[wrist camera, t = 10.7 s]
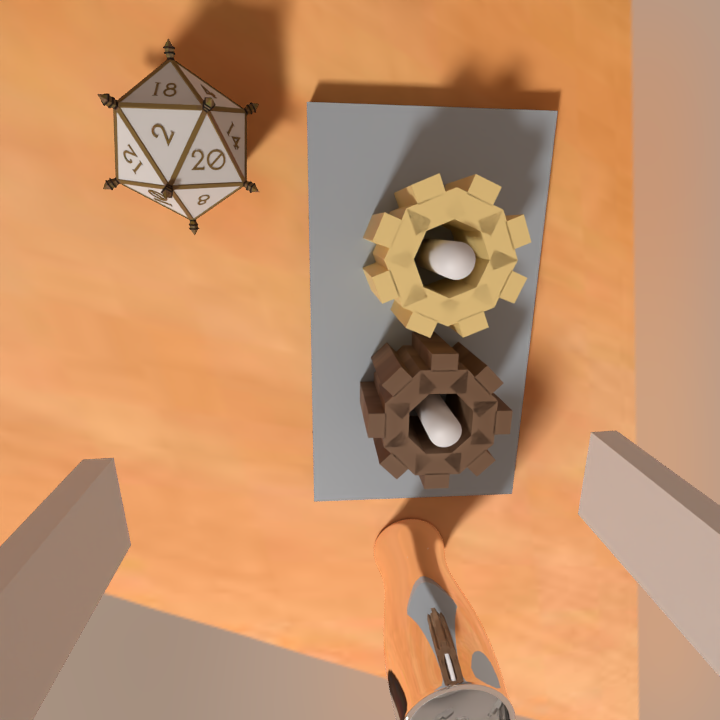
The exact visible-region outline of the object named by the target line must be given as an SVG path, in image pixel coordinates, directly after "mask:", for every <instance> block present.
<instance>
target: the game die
mask: <svg viewBox="0 0 720 720" xmlns="http://www.w3.org/2000/svg"><path fill="white" fill-rule="evenodd" d="M163 48H165V52H164V54H166V56H167V60H166V61H165V62H164V63H163V64H161V65H160V66H159V67H158V68H156V69H155V70H154V71H153V72H152V73H150V74H149V75H148V76H147V77H145V78H144V79H143V80H142V81H141V82H139V83H138V84H137V85H136V86H134V87H133V88H132V89H131V90H130V91H128V92H127V93H126V94H125V95H123V96H122V97H121V98H120V99H119V100H115V98H114V97H111V96H109V94H98V96H99V97H100V99H101V102H102V103H103V105H104V106H105V105H107V106H108V108H113V112H114V141H115V171H116V178H114V179H111V178H110V180H108V181H107V180H105V181H106V183H105V185H104V187H103V189H111V190H113V188H114V187H115V188H116V187H117V185H118V184H122V185H124V186H126V187H128V188H129V189H131V190H133V191H135V192H137V193H139V194H141V195H143V196H145V197H147V198H149V199H151V200H153V201H154V202H156V203H158V204H160V205H162V206H164V207H166V208H168V209H170V210H172V211H174V212H176V213H177V214H179V215H181V216H183V217H185V218H187V219H189V220H190V224H189V226H190V228H189V229H190V230H191V231H192V232H193V234H194V235H195V234H196V232H197V230H198V229H199V228H198V224H197V222H196V219H197V218H199V217H200V216H202V215H203V214H205V213H206V212H207V211H209V210H210V209H212V208H213V207H215V206H216V205H217V204H219V203H220V202H222V201H223V200H225V199H226V198H228V197H229V196H230V195H232V194H233V193H235V192H236V191H238V190H239V189H241V188H242V187H243V186H244V187H245V188H246V190H249V191H250V193H251V192H259V191H258V189H257V187H256V185H255V183H254V184H253V183H252V182H251V181H250V182H248V181H247V114H252V113H253V112H255V113H256V109H257V107H258V105H259V104H254V103H250V104H249V105H246V107H245V108H244V109H243V108H242V107H241V106H239V105H238V104H236V103H235V102H233V101H232V100H231V99H229V98H228V97H226V96H225V95H223V94H222V93H221V92H219V91H218V90H216V89H215V88H213V87H212V86H211V85H209V84H208V83H206V82H205V81H204V80H202V79H201V78H199V77H198V76H196V75H195V74H194V73H192V72H191V71H189V70H188V69H186V68H185V67H184V66H182V65H181V64H179V63H178V62H176V61H175V60H174V55H175V53H174V49H175V47H173V46H172V44H171V42H170V41H169V39H168V40H167V42H166V44H165V46H164V47H163Z"/></svg>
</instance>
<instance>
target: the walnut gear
mask: <svg viewBox="0 0 720 720" xmlns="http://www.w3.org/2000/svg"><path fill="white" fill-rule="evenodd" d="M371 360H372V362H373V365H374V367H375V370H376V371H375V372H374V381H367V382H360V405H361V410H362V414H363V418H364V423H365V427H366V431H367V436H368V438H373V440H374V444H375V448H376V452H377V456H378V460H379V464H380V465H381V466H382V467H383V468H384V469H386V470H387V471H388V472H389V473H390V474H391V475H392V476H393V477H394V478H396V479H398V478H399V477H400V476H401V475H402V474H403V473H405V472H406V471H407V470H408V469H409V470H410V471H411V472H412V473H413V474H414V475H419V477H420V479H421V482H422V484H423V487H424V489H436V488H449V477H450V474H460V473H461V472H462V471H463V470H465V469H466V468H468V469H469V470H470V471H472V472H473V473H474V474H475V475H476V476H478V475H480V474H481V473H482V472H483V471H484V470H485V469H486V468H488V467H489V466H490V465H491V464H492V463H493V462H494V461H496V460H495V459H494V458H493V456H492V455H491V454H490V452H489V451H488V450H487V449H488V448H490V447H491V446H492V445H493V444H494V436H495V435H498V434H510V430H511V421H512V412H513V410H512V409H510V408H509V407H508V406H507V405H506V404H505V403H504V402H503V401H502V400H501V399H500V398H499V397H498V396H497V395H496V394H495V393H494V392H495V391H496V390H497V389H498V388H499V387H500V386H501V385H502V384H503V382H502V381H501V380H500V378H499V377H498V376H497V375H496V374H495V373H494V372H493V371H492V370H491V369H490V368H489V367H488V366H487V365H486V364H485V363H484V362H482V361H481V360H480V359H479V358H478V357H476V356H475V355H474V354H473V353H472V352H470V351H469V350H468V349H467V348H466V347H464V346H463V345H462V344H461V343H459V342H457V343H456V344H455V345H454V346H453V347H451V346H450V345H448V344H447V343H446V342H445V341H444V340H443V339H442V338H441V337H440V336H439V335H438V334H436V333H435V332H433V333H432V335H431V338H429V337H427V336H424V335H422V334H420V333H417V332H412V345H403V346H402V347H401V348H399V349H398V350H397V351H395V350H394V349H393V348H392V347H391V346H390V345H389V344H388V343H387V342H386V343H385V344H384V345H383V346H382V347H381V348H380V349H379V350H378V351H377V352H376V353H375V354H374V355H373V356H372V357H371ZM429 394H446V401H445V403H446V405H447V406H448V408H449V409H450V410H451V412H452V413H453V415H454V416H455V417H456V419H457V420H458V422H459V423H460V425H461V428H462V433H461V436H460V438H459V440H458V441H457V442H456V443H455V444H453V445H451V446H449V447H439V446H436V445H435V444H433V443H432V441H431V440H430V438H429V436H428V434H427V432H426V430H425V428H424V426H423V425H422V423H421V421H420V419H419V417H418V416H409V412H410V411H412V410H413V409H414V408H415V407H416V406H417V405H418V404H419V403H420V402H421V401H422V400H423V399H425V398H426V397H427V396H428V395H429Z"/></svg>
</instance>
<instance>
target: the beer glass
mask: <svg viewBox="0 0 720 720" xmlns="http://www.w3.org/2000/svg"><path fill="white" fill-rule="evenodd" d="M374 559H375V562H376V565H377V567H378V570H379V572H380V574H381V576H382V579H383V583H384V589H385V603H384V628H383V637H384V657H385V666H386V674H387V679H388V685H389V690H390V695H391V700H392V704H393V708H394V712H395V717H396V720H516V717H515V712H514V709H513V706H512V704H511V702H510V699H509V696H508V692H507V689H506V686H505V683H504V679H503V676H502V673H501V670H500V667H499V664H498V661H497V658H496V656H495V653H494V650H493V648H492V645H491V643H490V640H489V638H488V636H487V634H486V631H485V629H484V627H483V625H482V623H481V621H480V619H479V618H478V616H477V614H476V612H475V611H474V609H473V607H472V605H471V604H470V602H469V601H468V599H467V598H466V596H465V595H464V593H463V592H462V590H461V589H460V587H459V586H458V584H457V583H456V581H455V579H454V578H453V576H452V575H451V573H450V571H449V569H448V566H447V563H446V558H445V550H444V544H443V540H442V537H441V535H440V533H439V532H438V530H437V529H436V528H435V527H434V526H433V525H431V524H430V523H428V522H426V521H423V520H419V519H404V520H400V521H397V522H395V523H393V524H391V525H389V526H388V527H386V528H385V529H384V530H383V531H382V532H381V533H380V535H379V536H378V538H377V540H376V542H375V545H374Z"/></svg>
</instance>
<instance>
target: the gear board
mask: <svg viewBox="0 0 720 720" xmlns="http://www.w3.org/2000/svg"><path fill="white" fill-rule="evenodd" d="M557 112H558V111H547V110H518V109H490V108H462V107H434V106H406V105H378V104H350V103H322V102H307V132H308V187H309V242H310V296H311V351H312V406H313V460H314V501H338V500H364V499H390V498H416V497H442V496H468V495H494V494H512V488H513V480H514V472H515V463H516V455H517V447H518V438H519V430H520V422H521V413H522V405H523V396H524V388H525V380H526V371H527V363H528V355H529V346H530V338H531V329H532V321H533V313H534V304H535V296H536V288H537V279H538V271H539V263H540V254H541V246H542V237H543V229H544V221H545V212H546V204H547V196H548V187H549V179H550V171H551V162H552V154H553V145H554V137H555V129H556V120H557ZM439 173H440V176H441V179H442V182H443V185H444V187H445V185H446V184H448V183H451V182H454V181H457V180H460V179H463V178H466V177H469V176H471V175H474V174H477V175H479V176H481V177H483V178H485V179H487V180H489V181H491V182H493V183H495V184H497V185H499V186H501V190H500V192H499V194H498V196H497V198H496V200H495V202H494V204H493V205H495V206H497V207H499V208H501V209H503V210H504V213H505V215H522V214H524V217H525V220H526V224H527V228H528V231H529V235H530V239H531V243H528V244H526V245H524V246H521V247H519V248H516V249H515V252H516V255H517V259H518V261H517V263H516V265H515V267H514V269H513V271H514V272H516V273H518V274H520V275H522V276H525V277H527V280H526V282H525V284H524V286H523V288H522V289H521V291H520V293H519V295H518V297H517V299H516V301H515V303H512V302H509V301H507V300H504V299H501V298H499V299H498V301H497V303H496V305H495V307H494V308H492V309H489V310H487V311H484V314H485V317H486V320H487V323H488V326H489V327H488V328H486V329H483V330H481V331H478V332H476V333H474V334H471V335H469V336H466V337H464V338H463V337H462V336H461V335H459V334H458V333H457V332H455V331H454V330H453V329H451V328H450V327H449V326H445V325H443V324H441V323H437V325H436V327H435V329H434V331H433V332H435V333H436V334H438V335H439V336H440V337H441V338H442V339H443V340H444V341H445V342H446V343H447V344H448V345H450V346H451V347H453V346H454V345H455V344H456V343H457V342H459V343H461V344H462V345H463V346H464V347H466V348H467V349H468V350H469V351H470V352H472V353H473V354H474V355H475V356H476V357H478V358H479V359H480V360H481V361H482V362H484V363H485V364H486V365H487V366H488V367H489V368H490V369H491V370H492V371H493V372H494V373H495V374H496V375H497V376H498V377H499V378H500V380H501V381H502V382H503V384H502V385H501V386H500V387H499V388H498V389H497V390H496V391H495V392H494V393H495V394H496V395H497V396H498V397H499V398H500V399H501V400H502V401H503V402H504V403H505V404H506V405H507V406H508V407H509V408H510V409H512V410H513V412H512V421H511V430H510V434H498V435H495V436H494V444H493V445H492V446H491V447H490V448H488V449H487V450H488V451H489V452H490V454H491V455H492V456H493V458H494V459H495V460H496V461H494V462H493V463H492V464H491V465H490V466H489V467H488V468H486V469H485V470H484V471H483V472H482V473H481V474H480V475H478V476H476V475H475V474H474V473H473V472H472V471H470V470H469V469H468V468H466V469H465V470H463V471H462V472H461V473H460V474H450V477H449V488H436V489H424V487H423V484H422V482H421V479H420V477H419V475H414V474H413V473H412V472H411V471H410V470H409V469H408V470H407V471H406V472H405V473H403V474H402V475H401V476H400V477H399V478H398V479H396V478H394V477H393V476H392V475H391V474H390V473H389V472H388V471H387V470H386V469H384V468H383V467H382V466H381V465H380V464H379V460H378V456H377V452H376V448H375V444H374V440H373V438H368V436H367V431H366V427H365V423H364V418H363V414H362V410H361V405H360V382H367V381H374V372H375V371H376V370H375V367H374V365H373V362H372V360H371V357H372V356H373V355H374V354H375V353H376V352H377V351H378V350H379V349H380V348H381V347H382V346H383V345H384V344H385V343H386V342H387V343H388V344H389V345H390V346H391V347H392V348H393V349H394V350H395V351H397V350H398V349H399V348H401V347H402V346H403V345H412V332H415V331H412V330H410V329H407V328H405V326H404V325H403V324H402V323H401V322H400V321H399V319H398V318H397V317H396V316H395V315H394V314H393V312H392V311H391V310H390V309H391V307H392V304H393V302H394V299H393V300H390V301H388V302H386V303H383V304H382V303H381V302H380V300H379V299H378V298H377V297H376V295H375V294H374V293H373V292H372V291H371V289H370V286H369V284H368V281H367V279H366V276H365V274H364V271H363V269H362V268H363V267H366V266H368V265H371V264H373V263H375V262H376V261H375V259H374V256H373V251H374V248H375V246H376V244H375V243H373V242H370V241H368V240H366V239H364V238H363V236H364V234H365V231H366V229H367V226H368V224H369V222H370V219H371V217H372V215H374V214H379V213H383V212H385V213H387V214H389V213H390V212H391V211H393V210H395V209H398V208H399V206H398V204H397V201H396V198H395V195H394V193H395V192H397V191H399V190H401V189H404V188H406V187H408V186H410V185H413V184H415V183H417V182H420V181H422V180H425V179H427V178H429V177H432V176H434V175H436V174H439ZM475 260H476V258H475V253H474V251H473V249H472V248H471V247H470V246H469V245H468V244H466V243H463V242H457V241H454V238H453V235H452V232H451V230H449V229H447V228H444V227H442V226H440V225H439V226H437V227H434V228H432V229H430V230H427V231H426V233H425V235H424V238H423V240H422V242H421V244H420V247H419V249H418V251H417V253H416V256H415V258H414V262H415V264H416V267H417V270H418V273H419V276H420V279H421V281H422V284H424V285H428V284H431V283H433V282H436V281H438V280H441V279H443V278H445V277H447V278H449V279H453V280H459V279H463V278H465V277H467V276H468V275H469V274H470V273H471V272H472V270H473V268H474V266H475ZM445 401H446V394H429V395H428V396H427V397H426V398H425V399H423V400H422V401H421V402H420V403H419V404H418V405H417V406H416V407H415V408H414V409H413V410H412V411H410V412H409V416H418V417H419V419H420V421H421V423H422V425H423V426H424V428H425V430H426V432H427V434H428V436H429V438H430V440H431V441H432V443H433V444H435V445H436V446H439V447H449V446H451V445H453V444H455V443H456V442H457V441H458V440H459V438H460V436H461V433H462V428H461V425H460V423H459V422H458V420H457V419H456V417H455V416H454V415H453V413H452V412H451V410H450V409H449V408H448V406H447V405H446V403H445Z"/></svg>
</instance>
